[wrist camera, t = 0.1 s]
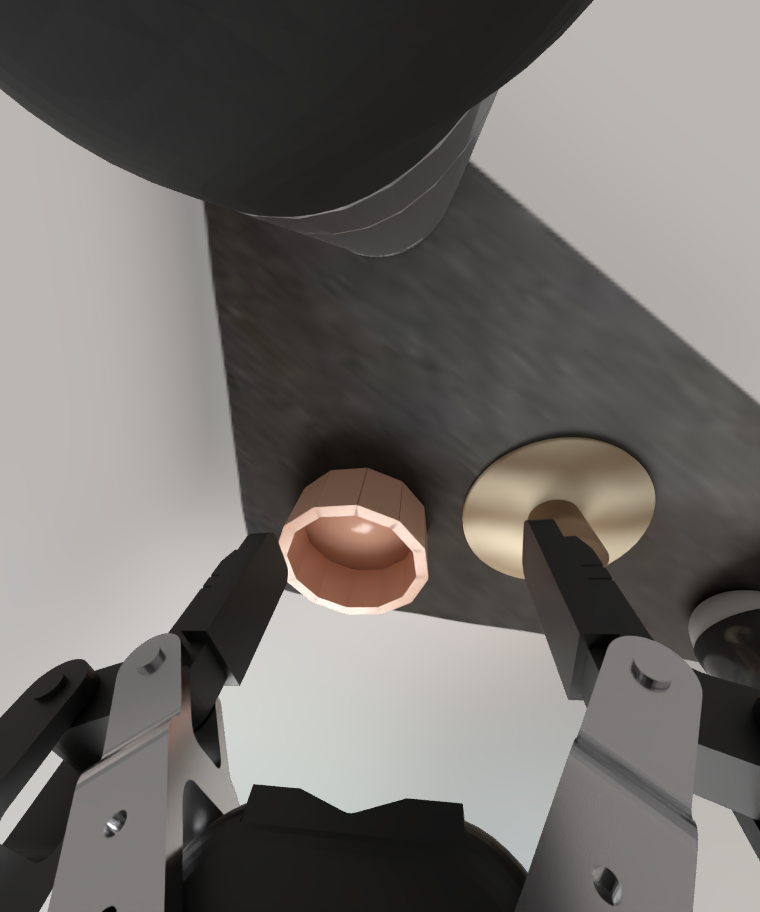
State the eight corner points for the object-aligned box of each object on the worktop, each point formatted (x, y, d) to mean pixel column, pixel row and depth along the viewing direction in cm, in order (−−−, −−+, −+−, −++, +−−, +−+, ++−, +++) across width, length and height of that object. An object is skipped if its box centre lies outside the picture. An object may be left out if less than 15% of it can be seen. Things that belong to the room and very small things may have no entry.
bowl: (282, 473, 31) (257, 510, 26) (419, 463, 29) (419, 501, 24) (315, 570, 37) (299, 614, 32) (430, 567, 35) (432, 614, 30)
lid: (459, 443, 28) (468, 482, 23) (670, 426, 25) (735, 466, 20) (463, 573, 35) (471, 625, 30) (626, 571, 33) (665, 627, 27)
